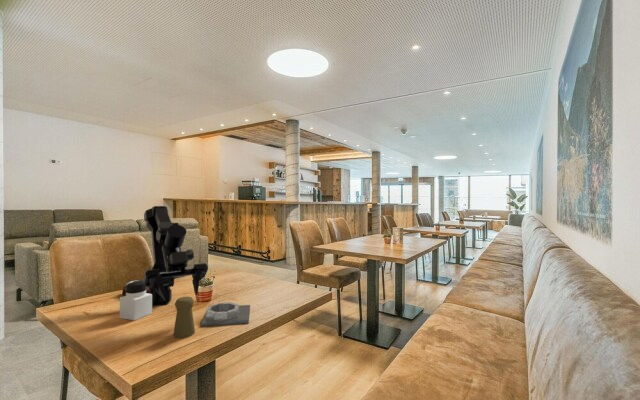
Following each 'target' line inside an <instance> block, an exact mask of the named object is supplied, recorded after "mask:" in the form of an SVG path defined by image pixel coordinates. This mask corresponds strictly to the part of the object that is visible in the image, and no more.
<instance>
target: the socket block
mask: <svg viewBox="0 0 640 400" xmlns="http://www.w3.org/2000/svg"><path fill="white" fill-rule="evenodd" d="M250 312H251V304H244V305H243V304H242V305H241V304H239V303H234V302H231V301H229V302H226V301H225V302H217V303H214V304H212V305H208V306H207V308H206V310H205V314H204V317H203V318H202V321H201V322H200V327H214V326H215V327H217V326H230V325H231V326H232V325H242V324H243V325H244V324H249V323H250V314H251V313H250Z"/></svg>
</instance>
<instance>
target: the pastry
mask: <svg viewBox="0 0 640 400" xmlns="http://www.w3.org/2000/svg"><path fill="white" fill-rule="evenodd" d="M142 281H143V279H142ZM121 292H122V293H121V294H122V297H123V296H126V284H125V285H123V286H122V291H121ZM146 293H149V294H151V290H149V288H148V287H146Z"/></svg>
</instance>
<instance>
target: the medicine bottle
mask: <svg viewBox="0 0 640 400" xmlns="http://www.w3.org/2000/svg"><path fill="white" fill-rule="evenodd" d="M142 280H143V279H142ZM142 280H139V279H138V280H132V281H129V282H128V283H125V285H126V296H123V295H122V296H120V297H119V319H125V320H128V321H133V322H135V321H137V320H139V319H143V318H145V317H147V316H149V315H151V314H152V313H153V305H152V294H149V293H146V287H145V286H144V283H143V281H142Z"/></svg>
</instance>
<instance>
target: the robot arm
mask: <svg viewBox="0 0 640 400" xmlns="http://www.w3.org/2000/svg"><path fill="white" fill-rule="evenodd" d="M143 221H144V222H145V226H146V228H147V229H148V230H149V231H150V232H151V233H150V234H151V243H152V245H151V246H152V253H153V254H152V255H153V256H152V257H153V265H152V268H151V269H146V270H145V271H144V275H143V279H142V280H143V283H144V286H145V287H148V288H149V290H151V294H152V306H161V305H162V306H163V305H168V304H169V303H170V302H171V301H172V293H173V292H172V290H173V289H171V287H174V286H175V279H176V278H181V277H186V276H191V278H192V286H193V291H194V294H195V295H196V296H197V295H198V293H199V286H200V281H202V280H203V279H204V278H205V277H206V276H207V273H208V270H209V267H208V266H209V265H208V264H207V263H206V262H201V263H194V265H193V267H192V268H188V269H186V268H187V267H188V262H189V261H191V260H193V259H194V258H195V254H194V249H193V248H191V249H187V250H185V251H182V246H183V245H184V241H185V239H186V236H187V235H186V234H187V229H186V228H185V226H183V225H180V224H179V222H172V221H171V217H170V215H169V210H168V206H165V205H154V206H152V207H151V208H148V209H146V210H145V211H144V213H143Z"/></svg>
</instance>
